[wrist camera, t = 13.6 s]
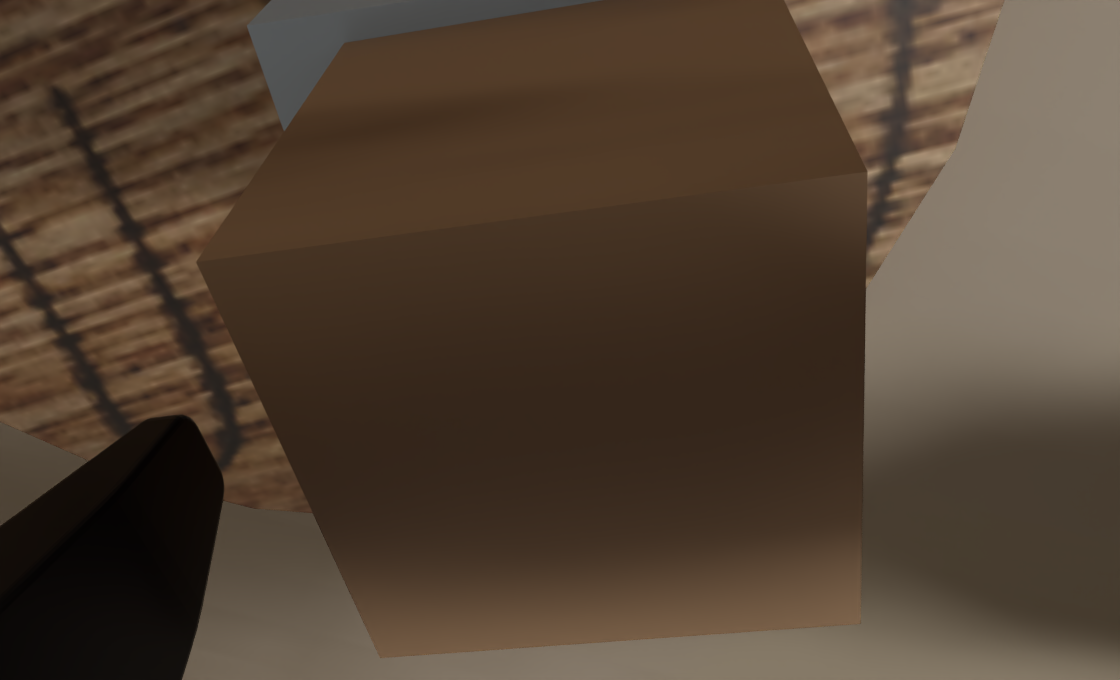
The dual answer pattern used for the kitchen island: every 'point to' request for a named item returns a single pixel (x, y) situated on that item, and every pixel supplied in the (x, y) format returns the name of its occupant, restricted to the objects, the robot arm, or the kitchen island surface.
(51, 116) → the trivet
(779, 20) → the walnut block
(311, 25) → the slate block
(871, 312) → the kitchen island surface
